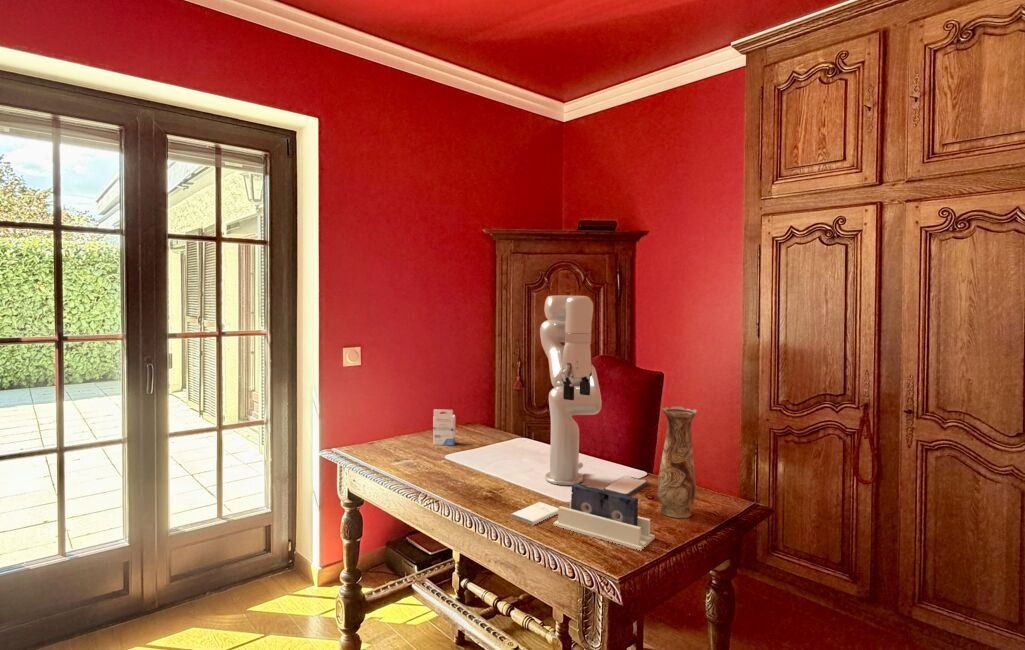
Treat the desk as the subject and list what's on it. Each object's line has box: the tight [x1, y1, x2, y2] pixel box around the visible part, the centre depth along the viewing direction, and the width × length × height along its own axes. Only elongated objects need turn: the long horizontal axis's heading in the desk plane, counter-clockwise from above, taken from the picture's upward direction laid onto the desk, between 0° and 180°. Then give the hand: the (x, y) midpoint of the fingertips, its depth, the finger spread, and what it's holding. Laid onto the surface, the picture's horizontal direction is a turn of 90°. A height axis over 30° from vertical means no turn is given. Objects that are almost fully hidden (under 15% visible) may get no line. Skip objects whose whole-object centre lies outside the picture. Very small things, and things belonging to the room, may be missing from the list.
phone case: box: [603, 475, 649, 497], centre depth 183 cm, size 9×2×16 cm
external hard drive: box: [510, 501, 558, 526], centre depth 160 cm, size 2×8×12 cm
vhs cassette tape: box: [570, 483, 639, 526], centre depth 149 cm, size 18×3×10 cm, turn 53°
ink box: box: [432, 408, 456, 446], centre depth 232 cm, size 8×5×15 cm, turn 85°
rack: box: [552, 499, 656, 552], centre depth 149 cm, size 9×25×5 cm, turn 55°
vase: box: [657, 405, 698, 519], centre depth 162 cm, size 10×11×30 cm
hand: (576, 397), depth 165 cm, fingers open, 9 cm apart
